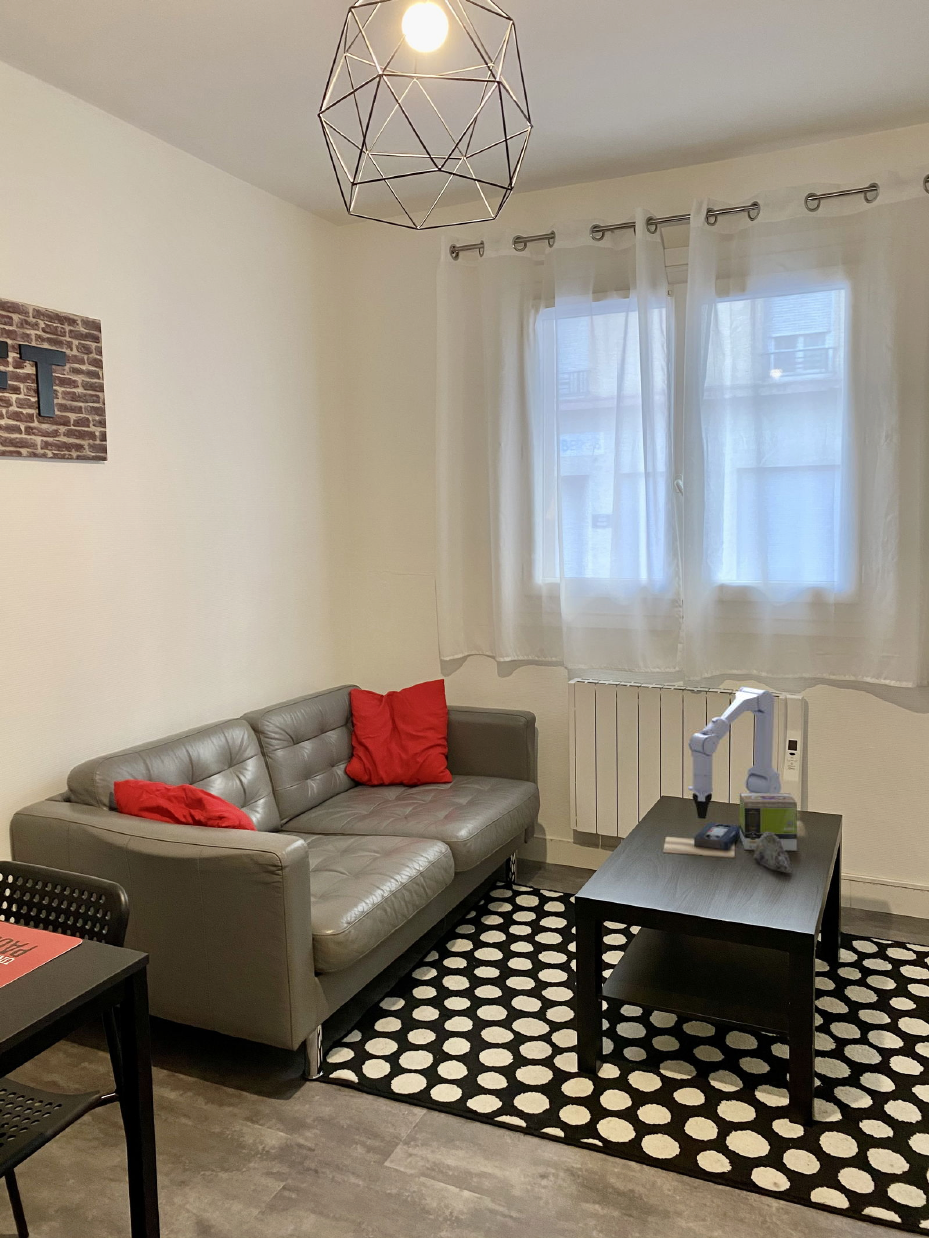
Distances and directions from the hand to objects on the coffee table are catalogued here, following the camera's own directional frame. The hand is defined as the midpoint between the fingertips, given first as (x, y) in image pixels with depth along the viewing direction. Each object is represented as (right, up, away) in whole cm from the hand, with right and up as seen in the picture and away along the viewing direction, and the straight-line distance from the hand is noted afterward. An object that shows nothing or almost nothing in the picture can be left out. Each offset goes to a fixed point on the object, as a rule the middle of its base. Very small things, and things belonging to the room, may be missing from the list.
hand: (702, 817), depth 293 cm
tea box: (+18, -7, -4) cm, 20 cm away
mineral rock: (+14, -10, -23) cm, 29 cm away
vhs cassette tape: (0, -5, +3) cm, 6 cm away
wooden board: (-2, -8, -6) cm, 10 cm away
